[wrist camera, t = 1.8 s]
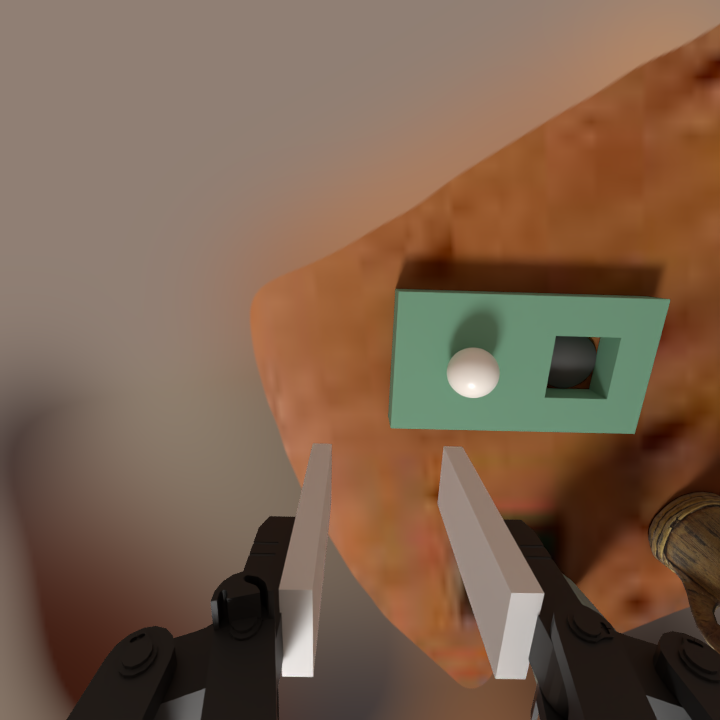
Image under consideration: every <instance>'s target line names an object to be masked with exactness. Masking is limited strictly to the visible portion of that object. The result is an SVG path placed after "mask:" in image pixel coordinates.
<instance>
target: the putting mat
mask: <svg viewBox="0 0 720 720" xmlns="http://www.w3.org/2000/svg"><path fill="white" fill-rule="evenodd" d="M669 303H670V299H663V298H656V297H648V296H621V295H587V294H554V293H520V292H486V291H453V290H419V289H395V307H394V325H393V342H392V360H391V378H390V395H389V413H388V417H389V422H390V427H391V428H405V429H448V430H492V431H535V432H579V433H622V434H635V431H636V427H637V423H638V419H639V416H640V412H641V408H642V404H643V401H644V397H645V393H646V389H647V386H648V382H649V378H650V374H651V371H652V367H653V363H654V359H655V356H656V352H657V348H658V344H659V341H660V337H661V333H662V329H663V326H664V322H665V318H666V314H667V311H668V307H669ZM587 337H600V342H599V346H598V351H597V355H596V350H595V347H594V345H593V343H592V342H591V341H590V340H589V339H588V338H587ZM473 347H474V348H480V349H483V350H485V351H487V352H489V353H490V354H491V355H492V356H493V357H494V358H495V359H496V361H497V363H498V366H499V370H500V376H499V380H498V383H497V385H496V387H495V388H494V389H493V390H492V391H491V392H490V393H489V394H487V395H485V396H483V397H479V398H468V397H464V396H462V395H460V394H458V393H457V392H456V391H455V390H454V389H453V388H452V387H451V385H450V384H449V382H448V378H447V367H448V363H449V361H450V360H451V358H452V357H453V356H454V355H455V354H456V353H457V352H459V351H460V350H463V349H466V348H473ZM593 368H594V369H593ZM592 370H593V373H592V378H591V383H590V387H589V389H562V388H569V387H573V386H575V385H577V384H579V383H581V382H582V381H584V380H585V379H586V378H587V377H588V376H589V375H590V373H591V372H592ZM547 383H548V384H550V385H551V386H554V387H557V388H546V387H547Z"/></svg>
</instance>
